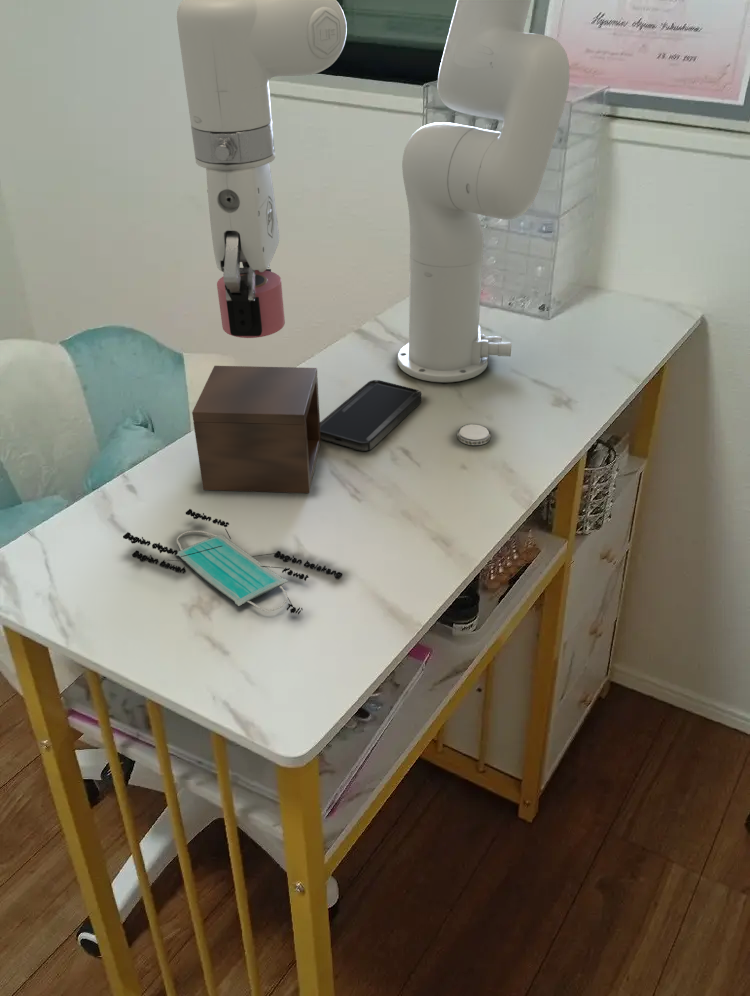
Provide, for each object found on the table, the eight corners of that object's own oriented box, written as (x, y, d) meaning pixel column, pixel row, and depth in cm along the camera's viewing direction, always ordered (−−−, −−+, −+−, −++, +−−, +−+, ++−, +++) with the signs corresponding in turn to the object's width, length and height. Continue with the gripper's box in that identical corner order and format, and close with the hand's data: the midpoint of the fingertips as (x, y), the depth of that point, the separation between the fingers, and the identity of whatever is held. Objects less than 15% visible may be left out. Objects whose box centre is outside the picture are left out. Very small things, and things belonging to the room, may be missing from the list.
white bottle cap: (452, 440, 109) (452, 436, 109) (464, 425, 112) (464, 421, 112) (483, 447, 108) (484, 443, 108) (494, 432, 111) (495, 427, 111)
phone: (424, 391, 117) (367, 444, 107) (424, 399, 118) (367, 452, 107) (371, 378, 121) (311, 428, 110) (371, 385, 121) (311, 436, 111)
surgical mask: (110, 535, 88) (173, 482, 95) (118, 569, 90) (179, 515, 98) (291, 597, 80) (345, 534, 87) (295, 632, 83) (347, 568, 90)
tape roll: (289, 311, 98) (285, 268, 96) (279, 338, 93) (275, 293, 90) (229, 311, 99) (223, 268, 96) (216, 337, 94) (210, 293, 91)
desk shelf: (321, 441, 110) (317, 367, 104) (309, 493, 101) (304, 415, 95) (223, 439, 111) (214, 365, 105) (203, 490, 102) (191, 412, 96)
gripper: (257, 170, 78) (275, 357, 88) (287, 120, 92) (299, 287, 102) (171, 170, 78) (199, 356, 89) (214, 121, 93) (234, 286, 103)
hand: (253, 318), depth 96 cm, fingers closed on tape roll, 6 cm apart
